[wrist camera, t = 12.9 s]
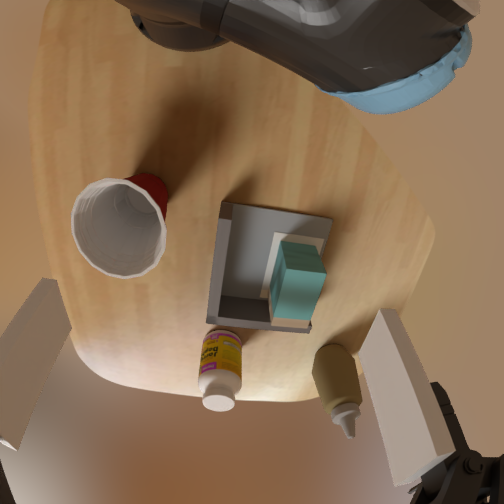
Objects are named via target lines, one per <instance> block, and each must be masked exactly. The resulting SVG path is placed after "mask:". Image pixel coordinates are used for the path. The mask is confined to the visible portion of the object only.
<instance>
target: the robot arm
mask: <svg viewBox="0 0 504 504" xmlns="http://www.w3.org/2000/svg"><path fill="white" fill-rule="evenodd" d="M115 1H116V2H118V3H120V4H122V5H123V6H125V7H127V8H128V9H130V13H131V16H132V19H133V21H134V23H135V25H136V26H137V28H138V29H139V30H140V31H141V33H142V34H144V35H145V36H146V37H147V38H148V39H150V40H151V41H153V42H155V43H157V44H159V45H161V46H163V47H166V48H169V49H172V50H177V51H185V52H195V51H203V50H208V49H212V48H215V47H218V46H221V45H223V44H225V43H227V42H229V41H232V42H234V43H236V44H238V45H241V46H243V47H245V48H247V49H249V50H251V51H253V52H256V53H258V54H260V55H262V56H264V57H266V58H268V59H270V60H272V61H274V62H276V63H278V64H279V65H281V66H283V67H285V68H287V69H289V70H291V71H293V72H294V73H296V74H298V75H300V76H301V77H303V78H305V79H307V80H308V81H310V82H312V83H314V84H315V86H316V87H317V88H318V89H320V90H321V91H323V92H324V93H328V94H329V95H332V96H336V97H339V98H340V99H342V100H344V101H346V102H347V103H349V104H351V105H352V106H354V107H356V108H357V109H359V110H362V111H364V112H368V113H372V114H392V113H397V112H401V111H405V110H407V109H410V108H413V107H415V106H417V105H419V104H421V103H423V102H425V101H427V100H428V99H430V98H432V97H433V96H435V95H436V94H437V93H439V92H440V91H441V90H442V89H444V88H445V87H446V86H447V85H448V84H449V83H450V82H451V81H452V80H453V79H454V78H455V73H454V70H455V69H457V68H460V67H463V66H464V65H465V63H466V62H467V60H468V57H469V55H470V52H471V47H472V36H471V32H470V30H469V27H468V24H467V22H469V21H470V20H471V19H473V18H474V17H475V16H477V15H478V14H479V13H480V4H479V0H115ZM71 329H72V327H71V324H70V321H69V318H68V315H67V312H66V309H65V306H64V303H63V300H62V296H61V293H60V290H59V286H58V283H57V280H54V279H47V278H42V279H41V281H40V282H39V283H38V284H37V286H36V287H35V288H34V290H33V291H32V293H31V294H30V295H29V297H28V298H27V299H26V301H25V302H24V304H23V305H22V306H21V308H20V309H19V311H18V312H17V314H16V315H15V317H14V318H13V320H12V321H11V323H10V324H9V325H8V327H7V329H6V330H5V332H4V333H3V335H2V336H1V338H0V442H1V443H2V444H3V445H6V446H8V447H10V448H12V449H14V450H16V451H18V449H19V447H20V444H21V441H22V438H23V435H24V433H25V430H26V428H27V425H28V422H29V420H30V417H31V414H32V412H33V410H34V407H35V405H36V402H37V400H38V398H39V396H40V393H41V391H42V389H43V387H44V384H45V382H46V380H47V378H48V375H49V373H50V371H51V369H52V367H53V365H54V363H55V361H56V359H57V356H58V354H59V352H60V350H61V348H62V346H63V344H64V342H65V340H66V339H67V336H68V335H69V333H70V331H71ZM358 355H359V358H360V362H361V365H362V368H363V371H364V374H365V378H366V381H367V384H368V388H369V391H370V395H371V398H372V402H373V405H374V408H375V412H376V416H377V419H378V423H379V427H380V431H381V434H382V438H383V442H384V445H385V450H386V453H387V458H388V462H389V466H390V470H391V474H392V479H393V483H394V487H396V486H400V485H403V484H408V483H411V482H413V481H415V480H416V479H418V478H419V477H421V479H422V482H421V483H419V484H418V485H416V486H415V487H413V488H411V489H410V491H409V492H408V493H409V494H411V493H412V492H414V491H416V492H415V494H414V495H413V498H412V500H411V502H410V504H504V454H503V455H501V456H500V457H482V456H481V454H480V453H478V452H477V451H474V450H470V449H469V447H468V445H467V443H466V440H465V437H464V434H463V432H462V429H461V427H460V424H459V422H458V419H457V417H456V414H454V409H453V407H452V405H450V404H451V403H450V400H449V398H448V395H447V393H446V391H445V390H444V389H443V388H442V386H440V384H439V383H438V382H433V383H429V380H428V378H427V376H426V373H425V371H424V369H423V366H422V364H421V362H420V360H419V358H418V355H417V354H416V351H415V349H414V347H413V345H412V343H411V340H410V338H409V336H408V334H407V332H406V330H405V328H404V326H403V324H402V322H401V320H400V318H399V316H398V314H397V312H396V310H395V309H379V311H378V313H377V315H376V317H375V319H374V322H373V324H372V326H371V328H370V330H369V332H368V334H367V336H366V338H365V341H364V343H363V345H362V347H361V349H360V351H359V353H358ZM488 496H490V500H489V502H487V497H488ZM0 504H16V503H15V500H14V498H13V495H12V493H11V490H10V487H9V485H8V482H7V479H6V476H5V473H4V470H3V467H2V464H1V461H0Z"/></svg>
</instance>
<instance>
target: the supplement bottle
mask: <svg viewBox="0 0 504 504" xmlns="http://www.w3.org/2000/svg"><path fill="white" fill-rule="evenodd" d="M241 384H242V345H241V341H240V339H239V337H238V336H237V335H236V334H234V333H232V332H230V331H226V330H216V331H213V332H210V333H209V334H207V335H206V336H205V338H204V340H203V345H202V353H201V361H200V369H199V377H198V386H199V389H200V390H201V391H202V392H203V393H204V394H203V405H204V406H205V407H206V408H208V409H210V410H213V411H227V410H230V409H232V408H233V407H234V405H235V395H236V394H237V393H238V392H239V391H240V389H241Z"/></svg>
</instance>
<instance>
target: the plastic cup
mask: <svg viewBox="0 0 504 504" xmlns="http://www.w3.org/2000/svg"><path fill="white" fill-rule="evenodd" d="M167 201H168V192H167V189H166V186H165V184H164V183H163V182H162V180H161V179H160V178H158V177H157V176H155V175H153V174H146V173H141V174H138V175H135V176H132V177H129V178H125V179H114V178H105V179H102V180H99V181H96V182H93V183H91V184H89V185H88V186H87V187H86V188H85V189H84V190H83V191H82V192H81V193H80V194H79V195H78V196H77V198H76V201H75V204H74V207H73V210H72V213H71V227H72V235H73V237H74V240H75V242H76V245H77V247H78V250H79V252H80V253H81V254H82V255H83V256H84V258H85V259H86V260H87V261H88V262H89V263H90V265H91V266H93V267H94V268H96V269H98V270H99V271H101V272H103V273H104V274H106V275H108V276H112V277H117V278H122V279H128V278H134V277H139V276H143V275H144V274H146V273H147V272H148V271H150V270H151V269H153V268H154V267H155V266H157V264H158V262H159V260H160V258H161V256H162V255H163V253H164V251H165V245H166V231H167V228H166V224H165V218H166V212H167Z"/></svg>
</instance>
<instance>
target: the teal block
mask: <svg viewBox="0 0 504 504" xmlns="http://www.w3.org/2000/svg"><path fill="white" fill-rule="evenodd" d="M326 275H327V273H326V270H325V268H324V265H323V263H322V261H321V258H320V256H319V253H318V251H317V248H316V246H314V245H307V244H300V243H293V242H286V241H280V244H279V248H278V252H277V257H276V261H275V265H274V269H273V273H272V277H271V281H270V285H269V289H268V303H269V312H270V321H271V326H281V327H293V328H306V329H307V328H308V325H309V322H310V320H311V317H312V314H313V311H314V309H315V306H316V303H317V300H318V298H319V295H320V292H321V289H322V286H323V283H324V281H325V278H326Z"/></svg>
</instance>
